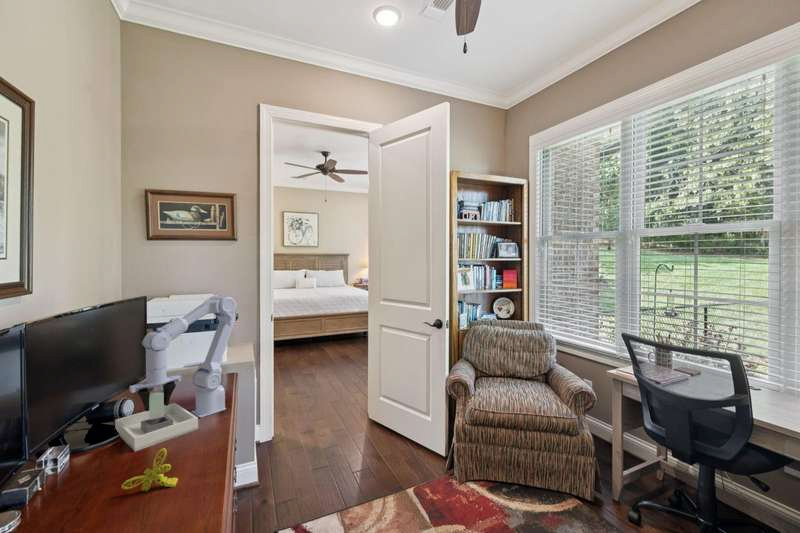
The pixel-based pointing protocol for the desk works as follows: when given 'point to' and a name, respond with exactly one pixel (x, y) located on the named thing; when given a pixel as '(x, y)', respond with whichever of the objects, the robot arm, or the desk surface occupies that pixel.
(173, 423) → the box
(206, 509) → the desk surface
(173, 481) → the decorative insect
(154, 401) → the connector
